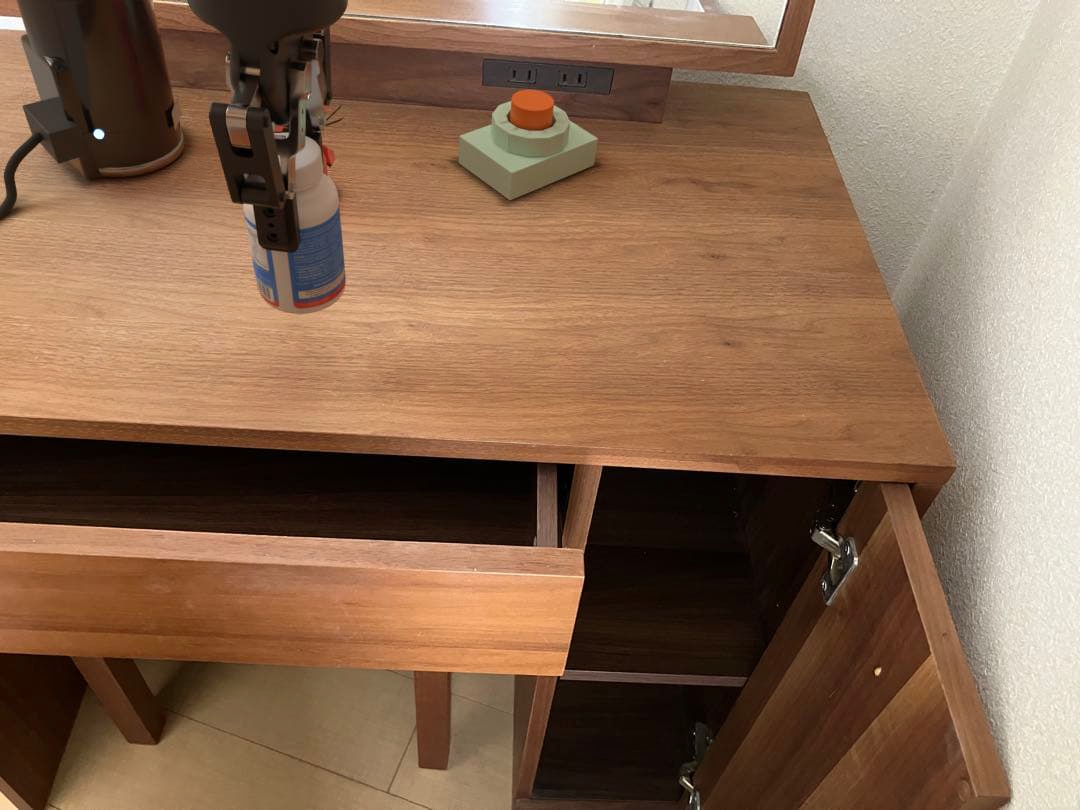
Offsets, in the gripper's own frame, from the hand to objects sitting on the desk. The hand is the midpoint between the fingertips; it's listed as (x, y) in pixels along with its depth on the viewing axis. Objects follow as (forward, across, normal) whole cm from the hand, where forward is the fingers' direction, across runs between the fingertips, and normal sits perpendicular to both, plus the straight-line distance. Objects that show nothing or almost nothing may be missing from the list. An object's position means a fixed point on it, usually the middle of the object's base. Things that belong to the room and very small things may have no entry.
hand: (293, 215), depth 52 cm
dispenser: (+11, -27, +13) cm, 32 cm away
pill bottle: (+6, 0, 0) cm, 6 cm away
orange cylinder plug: (+7, -27, +13) cm, 31 cm away
